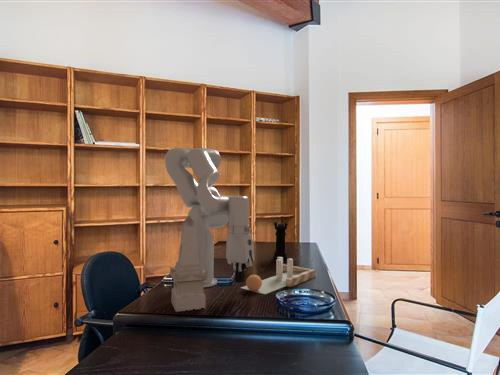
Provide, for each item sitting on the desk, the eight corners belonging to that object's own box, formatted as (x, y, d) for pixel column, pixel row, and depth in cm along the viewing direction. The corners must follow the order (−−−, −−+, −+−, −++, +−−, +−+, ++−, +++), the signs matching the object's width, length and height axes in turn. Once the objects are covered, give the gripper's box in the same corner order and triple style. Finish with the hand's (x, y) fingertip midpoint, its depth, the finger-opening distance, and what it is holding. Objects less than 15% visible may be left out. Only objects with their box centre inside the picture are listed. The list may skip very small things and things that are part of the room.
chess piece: (287, 258, 194) (288, 222, 194) (287, 261, 186) (288, 223, 186) (273, 257, 195) (273, 221, 195) (272, 260, 187) (273, 223, 187)
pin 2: (288, 281, 148) (288, 259, 148) (286, 279, 150) (286, 258, 150) (293, 280, 148) (293, 259, 148) (291, 279, 151) (291, 258, 151)
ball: (248, 293, 131) (248, 277, 130) (244, 288, 136) (244, 273, 136) (263, 292, 132) (264, 276, 132) (259, 287, 138) (259, 272, 138)
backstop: (290, 287, 139) (290, 279, 139) (254, 279, 151) (254, 272, 151) (315, 276, 156) (315, 270, 156) (281, 270, 167) (281, 263, 167)
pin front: (277, 282, 146) (277, 260, 146) (275, 280, 148) (275, 259, 148) (282, 282, 147) (283, 260, 146) (280, 280, 149) (280, 259, 149)
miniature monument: (169, 301, 120) (170, 214, 120) (199, 298, 124) (200, 213, 124) (174, 312, 111) (175, 217, 110) (207, 308, 114) (208, 216, 114)
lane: (265, 294, 130) (265, 294, 130) (240, 288, 137) (240, 287, 137) (310, 276, 156) (310, 275, 156) (287, 271, 164) (287, 271, 164)
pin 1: (278, 279, 151) (278, 258, 151) (276, 277, 153) (276, 257, 153) (283, 278, 151) (283, 258, 151) (281, 277, 154) (281, 256, 154)
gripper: (261, 230, 125) (262, 282, 124) (230, 228, 134) (231, 277, 134) (248, 232, 119) (249, 287, 118) (216, 230, 128) (217, 281, 128)
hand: (239, 281), depth 126 cm, fingers closed
